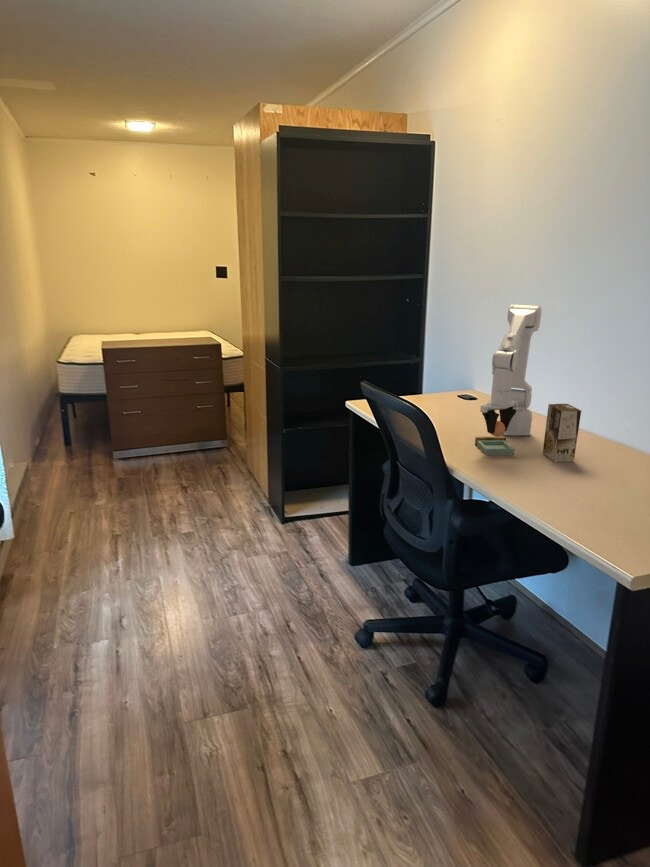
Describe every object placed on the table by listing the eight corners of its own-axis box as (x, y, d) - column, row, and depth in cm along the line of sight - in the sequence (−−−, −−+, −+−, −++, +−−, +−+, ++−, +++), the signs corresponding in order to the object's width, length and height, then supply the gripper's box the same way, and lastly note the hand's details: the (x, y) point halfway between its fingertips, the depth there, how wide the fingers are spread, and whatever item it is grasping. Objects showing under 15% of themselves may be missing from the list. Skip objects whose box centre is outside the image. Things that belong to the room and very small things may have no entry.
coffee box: (574, 462, 179) (582, 410, 175) (554, 462, 179) (561, 410, 174) (561, 452, 188) (568, 403, 183) (541, 452, 188) (548, 403, 183)
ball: (496, 433, 191) (497, 418, 189) (507, 437, 187) (509, 422, 185) (484, 435, 188) (486, 419, 187) (496, 439, 184) (497, 423, 183)
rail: (504, 443, 196) (505, 436, 195) (505, 444, 194) (506, 437, 194) (474, 443, 195) (475, 436, 194) (476, 445, 194) (476, 437, 193)
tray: (503, 445, 194) (504, 440, 193) (514, 454, 185) (514, 449, 184) (476, 445, 193) (477, 440, 192) (485, 454, 184) (486, 449, 184)
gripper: (508, 385, 190) (503, 425, 194) (474, 389, 183) (470, 431, 187) (525, 389, 184) (520, 431, 188) (491, 394, 177) (487, 437, 181)
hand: (496, 431), depth 187 cm, fingers closed on ball, 5 cm apart
